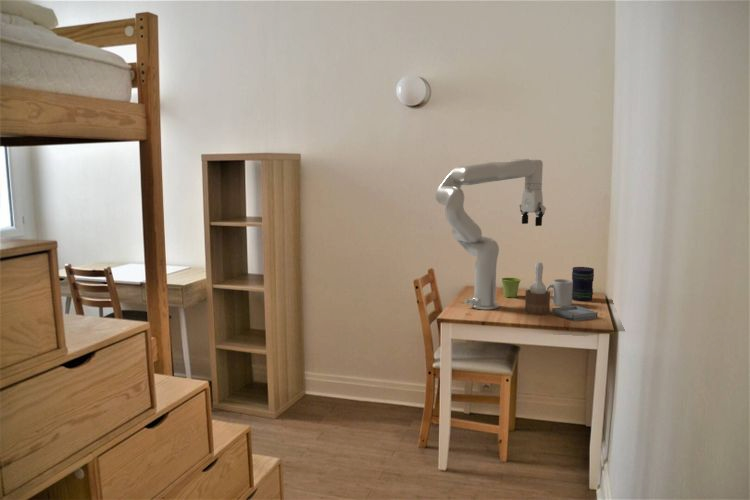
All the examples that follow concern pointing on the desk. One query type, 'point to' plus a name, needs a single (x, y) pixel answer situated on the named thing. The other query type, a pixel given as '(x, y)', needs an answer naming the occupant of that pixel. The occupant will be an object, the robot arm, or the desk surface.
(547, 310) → the holder
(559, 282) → the mug
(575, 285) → the storage jar
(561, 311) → the tray
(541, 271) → the faceted bottle
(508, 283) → the plant pot
